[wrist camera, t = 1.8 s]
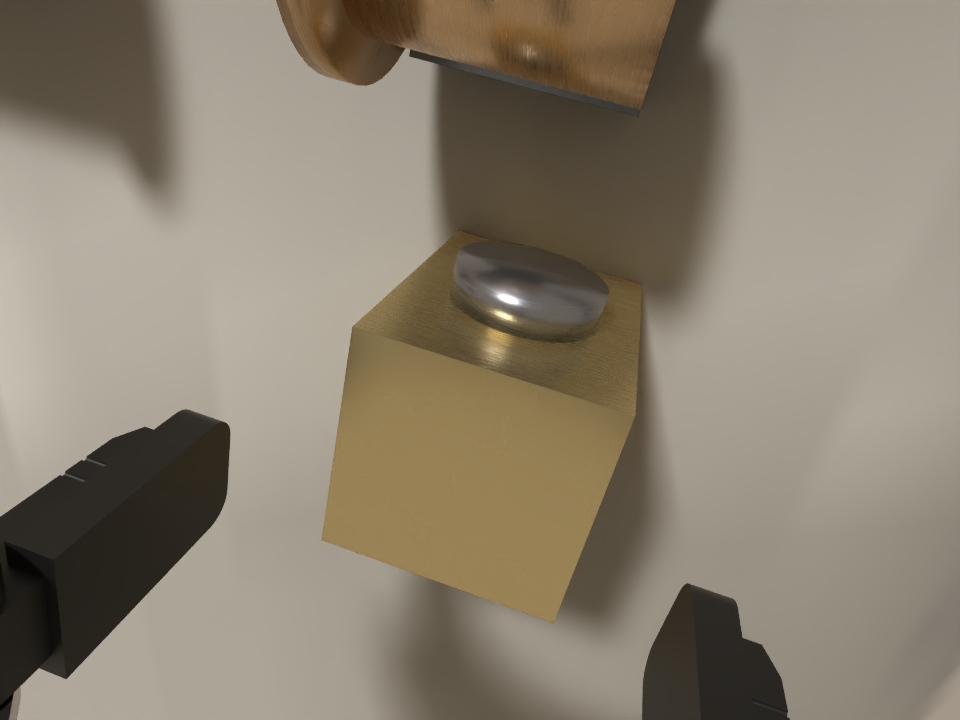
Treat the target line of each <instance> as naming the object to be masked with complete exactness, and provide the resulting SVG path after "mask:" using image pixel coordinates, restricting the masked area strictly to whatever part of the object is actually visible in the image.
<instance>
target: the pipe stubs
mask: <svg viewBox="0 0 960 720" xmlns="http://www.w3.org/2000/svg"><path fill="white" fill-rule="evenodd" d="M276 1H277V4H278V7H279V11H280V14H281V17H282V20H283V23H284V25H285V27H286V30H287V32H288V34H289V37H290V39H291V41H292V43H293V44H294V46H295V48H296V49H297V51H298V53H299V55H300V56H301V57H302V58H303V59H304V61H305V62H306V63H307V64H308V66H310V67H311V68H312V69H313V70H315V71H316V72H317V73H319V74H321V75H324V76H326V77H329V78H333V79H337V80H341V81H344V82H348V83H352V84H355V85H364V86H366V85H370V84H373V83H375V82H377V81H378V80H380V79H382V78H383V77H384V76H385V75H386V74H387V73H388V72H389V71H390V70H391V69H392V67H393V66H394V65H395V64H396V62H397V61H398V59H399V58H400V56H401V55H402V53H403V51H404V50H405V48H407V49H410V55H409V56H410V57H414V58H417V59H421V60H425V61H429V62H433V63H436V64H440V65H444V66H448V67H452V68H455V69H459V70H463V71H467V72H471V73H474V74H478V75H482V76H486V77H489V78H493V79H497V80H501V81H505V82H508V83H512V84H516V85H520V86H524V87H527V88H531V89H535V90H539V91H543V92H546V93H550V94H554V95H558V96H561V97H565V98H569V99H573V100H577V101H580V102H584V103H588V104H592V105H596V106H599V107H603V108H607V109H611V110H615V111H618V112H622V113H626V114H630V115H633V116H637V117H638V116H639V113H640V110H641V108H642V105H643V102H644V99H645V96H646V93H647V90H648V86H649V83H650V80H651V77H652V74H653V71H654V68H655V65H656V62H657V58H658V55H659V52H660V49H661V46H662V43H663V40H664V37H665V33H666V30H667V27H668V24H669V21H670V18H671V15H672V11H673V8H674V5H675V2H676V0H276Z"/></svg>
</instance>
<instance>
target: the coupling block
mask: <svg viewBox="0 0 960 720" xmlns="http://www.w3.org/2000/svg"><path fill="white" fill-rule="evenodd" d="M641 303H642V284H639V283H636V282H632V281H629V280H625V279H622V278H619V277H615V276H612V275H608V274H605V273H602V272H598V271H595V270H591V269H588V268H587V267H585V266H583V265H581V264H579V263H577V262H575V261H573V260H571V259H568V258H566V257H563V256H561V255H558V254H555V253H552V252H549V251H546V250H542V249H539V248H535V247H530V246H526V245H520V244H514V243H506V242H496V241H493V240H489V239H486V238H483V237H479V236H476V235H472V234H469V233H466V232H462V231H458V232H457V233H456V234H455V235H454V236H452V237H451V238H450V239H449V240H448V241H447V242H446V243H445V244H444V245H442V246H441V247H440V248H439V249H438V250H437V251H436V252H435V253H434V254H432V255H431V256H430V257H429V258H428V259H427V260H426V261H425V262H424V263H422V264H421V265H420V266H419V267H418V268H417V269H416V270H415V271H414V272H413V273H411V274H410V275H409V276H408V277H407V278H406V279H405V280H404V281H403V282H401V283H400V284H399V285H398V286H397V287H396V288H395V289H394V290H393V291H391V292H390V293H389V294H388V295H387V296H386V297H385V298H384V299H383V300H381V301H380V302H379V303H378V304H377V305H376V306H375V307H374V308H373V309H372V310H370V311H369V312H368V313H367V314H366V315H365V316H364V317H363V318H362V319H360V320H359V321H358V322H357V323H356V324H355V325H354V326H353V327H352V333H351V340H350V347H349V354H348V361H347V368H346V375H345V382H344V389H343V396H342V403H341V410H340V417H339V424H338V430H337V437H336V444H335V451H334V458H333V465H332V472H331V479H330V486H329V493H328V500H327V507H326V514H325V521H324V527H323V534H322V540H323V541H325V542H328V543H331V544H334V545H337V546H339V547H342V548H345V549H348V550H351V551H353V552H356V553H359V554H362V555H364V556H367V557H370V558H373V559H376V560H378V561H381V562H384V563H387V564H390V565H392V566H395V567H398V568H401V569H404V570H406V571H409V572H412V573H415V574H417V575H420V576H423V577H426V578H429V579H431V580H434V581H437V582H440V583H443V584H445V585H448V586H451V587H454V588H456V589H459V590H462V591H465V592H468V593H470V594H473V595H476V596H479V597H482V598H484V599H487V600H490V601H493V602H496V603H498V604H501V605H504V606H507V607H509V608H512V609H515V610H518V611H521V612H523V613H526V614H529V615H532V616H535V617H537V618H540V619H543V620H546V621H549V622H551V623H554V620H555V618H556V615H557V613H558V610H559V608H560V605H561V603H562V600H563V598H564V595H565V593H566V590H567V588H568V585H569V583H570V580H571V578H572V575H573V573H574V570H575V568H576V565H577V562H578V560H579V557H580V555H581V552H582V550H583V547H584V545H585V542H586V540H587V537H588V535H589V532H590V530H591V527H592V525H593V522H594V520H595V517H596V515H597V512H598V510H599V507H600V504H601V502H602V499H603V497H604V494H605V492H606V489H607V487H608V484H609V482H610V479H611V477H612V474H613V472H614V469H615V467H616V464H617V462H618V459H619V457H620V454H621V452H622V449H623V446H624V444H625V441H626V439H627V436H628V434H629V431H630V429H631V426H632V424H633V421H634V419H635V415H636V397H637V378H638V359H639V340H640V322H641Z"/></svg>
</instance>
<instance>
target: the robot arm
mask: <svg viewBox="0 0 960 720" xmlns="http://www.w3.org/2000/svg"><path fill="white" fill-rule="evenodd" d="M229 449H230V428H229V426H228V424H227V423H225V422H222V421H219V420H217V419H214V418H211V417H208V416H205V415H202V414H199V413H196V412H193V411H190V410H186V409H185V410H181V411H179V412H178V413H176V414H175V415H173V416H172V417H171V418H169V419H168V420H167V421H165V422H164V423H162V424H161V425H160V426H158V427H157V428H156V429H154V430H153V429H150V428H147V427H143V428H140V429H138V430H135V431H132V432H129V433H126V434H124V435H121V436H118V437H115V438H112V439H111V440H109V441H108V442H107V443H105V444H104V445H102V446H101V447H99V448H98V449H97V450H95V451H94V452H92V453H91V454H89V455H88V456H87V458H86V460H85V461H83V460H81V461H79V462H78V463H77V464H75V465H74V466H72V467H71V468H69V469H68V470H67V471H65V474H64V475H63V476H61V475H59V476H58V477H57V478H55V479H54V480H52V481H51V482H49V483H48V484H47V485H45V486H44V487H42V488H41V489H39V490H38V491H37V492H35V493H34V494H32V495H31V496H29V497H28V498H27V499H25V500H24V501H22V502H21V503H19V504H18V505H17V506H15V507H14V508H12V509H11V510H9V511H8V512H7V513H5V514H4V515H2V516H1V517H0V720H17V716H18V710H19V704H20V699H21V689H20V686H21V685H22V684H23V683H24V682H25V681H26V680H27V679H28V678H29V677H30V676H31V675H32V674H33V673H34V672H35V671H36V670H37V669H38V668H40V669H43V670H45V671H48V672H50V673H52V674H55V675H57V676H60V677H62V678H65V679H67V678H68V677H69V676H70V675H71V674H72V673H73V672H74V670H75V669H76V668H77V667H78V666H79V665H80V664H81V663H82V662H83V661H84V660H85V659H86V658H87V657H88V656H89V655H90V654H91V653H92V652H93V650H94V649H95V648H96V647H97V646H98V645H99V644H100V643H101V642H102V641H103V640H104V639H105V638H106V637H107V636H108V635H109V634H110V633H111V632H112V630H113V629H114V628H115V627H116V626H117V625H118V624H119V623H120V622H121V621H122V620H123V619H124V618H125V617H126V616H127V615H128V614H129V613H130V611H131V610H132V609H133V608H134V607H135V606H136V605H137V604H138V603H139V602H140V601H141V600H142V599H143V598H144V597H145V596H146V595H147V594H148V593H149V591H150V590H151V589H152V588H153V587H154V586H155V585H156V584H157V583H158V582H159V581H160V580H161V579H162V578H163V577H164V576H165V575H166V574H167V573H168V571H169V570H170V569H171V568H172V567H173V566H174V565H175V564H176V563H177V562H178V561H179V560H180V559H181V558H182V557H183V556H184V555H185V554H186V552H187V551H188V550H189V549H190V548H191V547H192V546H193V545H194V544H195V543H196V542H197V541H198V540H199V539H200V538H201V537H202V536H203V535H204V534H205V532H206V531H207V530H208V529H209V528H210V527H211V526H212V525H213V523H214V522H215V521H216V519H217V518H218V516H219V514H220V512H221V510H222V508H223V505H224V503H225V499H226V495H227V485H228V467H229ZM787 713H788V709H787V704H786V699H785V694H784V689H783V684H782V680H781V677H780V675H779V673H778V672H777V670H776V668H775V667H774V665H773V663H772V661H771V660H770V658H769V656H768V655H767V653H766V651H765V649H764V648H763V646H762V645H761V644H758V643H755V642H752V641H750V640H747V639H744V638H742V632H741V626H740V619H739V613H738V607H737V604H736V602H735V600H734V599H732V598H729V597H726V596H723V595H720V594H717V593H714V592H711V591H709V590H706V589H703V588H700V587H697V586H694V585H691V584H685V585H684V586H683V587H682V589H681V590H680V592H679V594H678V596H677V598H676V600H675V602H674V604H673V606H672V608H671V610H670V612H669V614H668V615H667V617H666V619H665V621H664V623H663V625H662V627H661V629H660V631H659V633H658V635H657V637H656V639H655V641H654V643H653V645H652V647H651V650H650V653H649V656H648V659H647V663H646V667H645V672H644V679H643V703H642V720H790V719H789V718H787Z"/></svg>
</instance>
